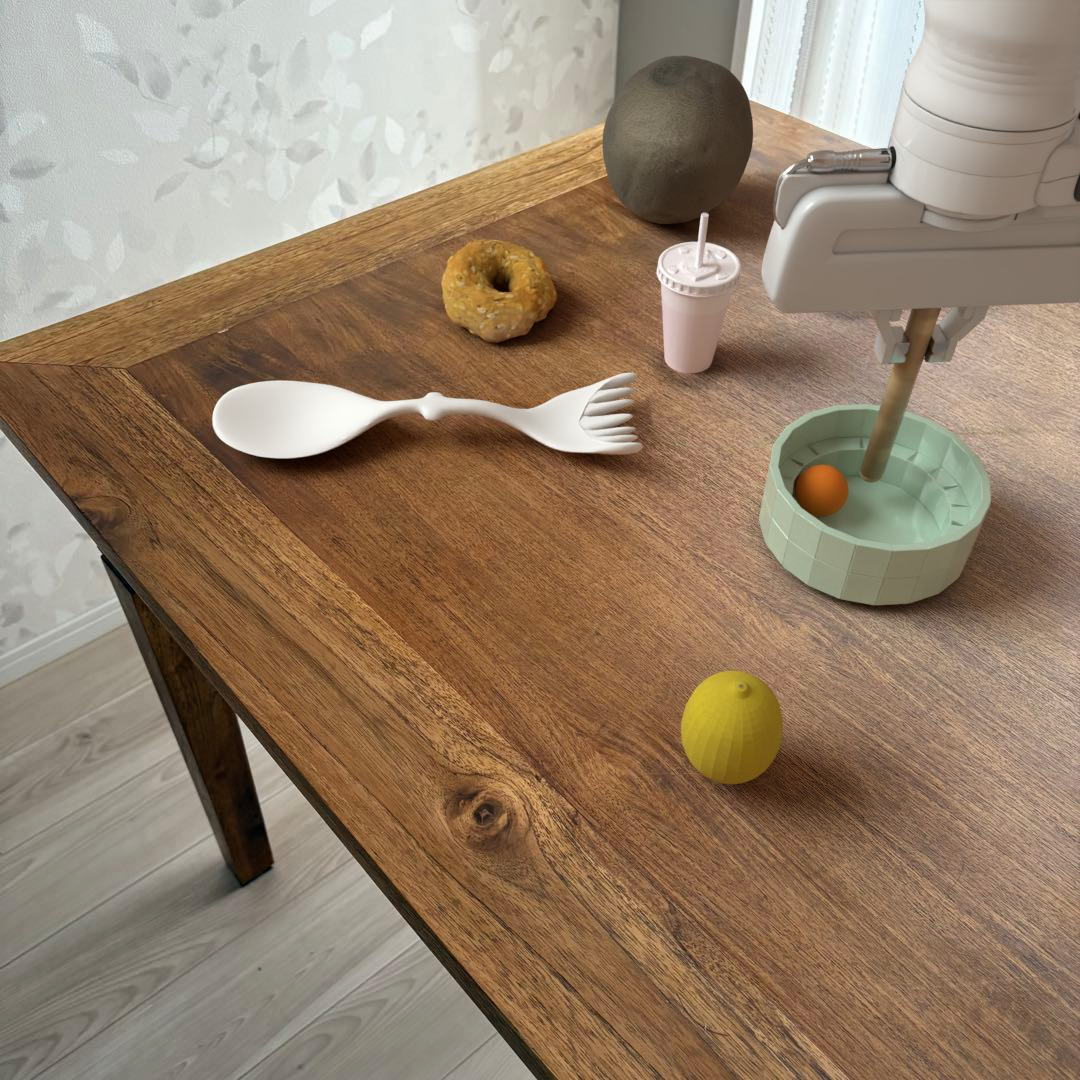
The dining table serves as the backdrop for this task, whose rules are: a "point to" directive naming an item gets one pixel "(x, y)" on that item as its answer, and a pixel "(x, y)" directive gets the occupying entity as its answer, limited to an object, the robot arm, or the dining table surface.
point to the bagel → (497, 289)
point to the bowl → (876, 507)
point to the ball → (821, 490)
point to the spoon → (340, 415)
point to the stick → (898, 394)
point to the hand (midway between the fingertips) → (911, 357)
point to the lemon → (732, 727)
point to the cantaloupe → (677, 139)
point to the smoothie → (695, 299)
